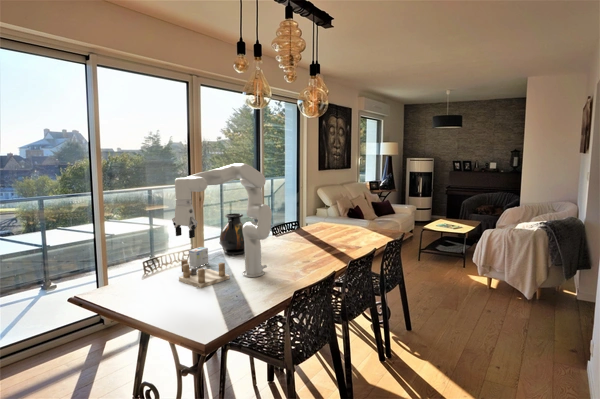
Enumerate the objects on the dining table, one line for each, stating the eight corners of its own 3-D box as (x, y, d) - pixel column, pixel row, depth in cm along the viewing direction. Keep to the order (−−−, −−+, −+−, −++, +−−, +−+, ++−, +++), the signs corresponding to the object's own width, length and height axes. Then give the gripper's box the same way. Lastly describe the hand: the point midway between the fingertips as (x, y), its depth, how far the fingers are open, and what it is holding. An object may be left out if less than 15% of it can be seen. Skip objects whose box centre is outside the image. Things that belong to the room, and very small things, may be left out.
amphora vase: (245, 257, 267) (244, 217, 263) (215, 256, 270) (214, 216, 267) (253, 249, 288) (252, 212, 284) (226, 248, 291) (224, 212, 288)
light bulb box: (201, 262, 255) (200, 246, 254) (208, 263, 252) (208, 247, 250) (189, 266, 246) (188, 249, 245) (196, 267, 243) (196, 251, 241)
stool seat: (207, 272, 233) (207, 257, 232) (229, 278, 221) (229, 263, 220) (179, 280, 218) (178, 265, 217) (200, 288, 206) (199, 271, 204)
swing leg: (180, 271, 228) (180, 260, 227) (185, 270, 230) (185, 259, 230) (192, 275, 220) (192, 264, 219) (198, 274, 223) (197, 262, 222)
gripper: (201, 202, 190) (203, 237, 191) (177, 201, 199) (179, 233, 201) (190, 204, 183) (191, 240, 185) (165, 202, 192) (167, 236, 194)
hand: (185, 236), depth 193 cm, fingers open, 9 cm apart
